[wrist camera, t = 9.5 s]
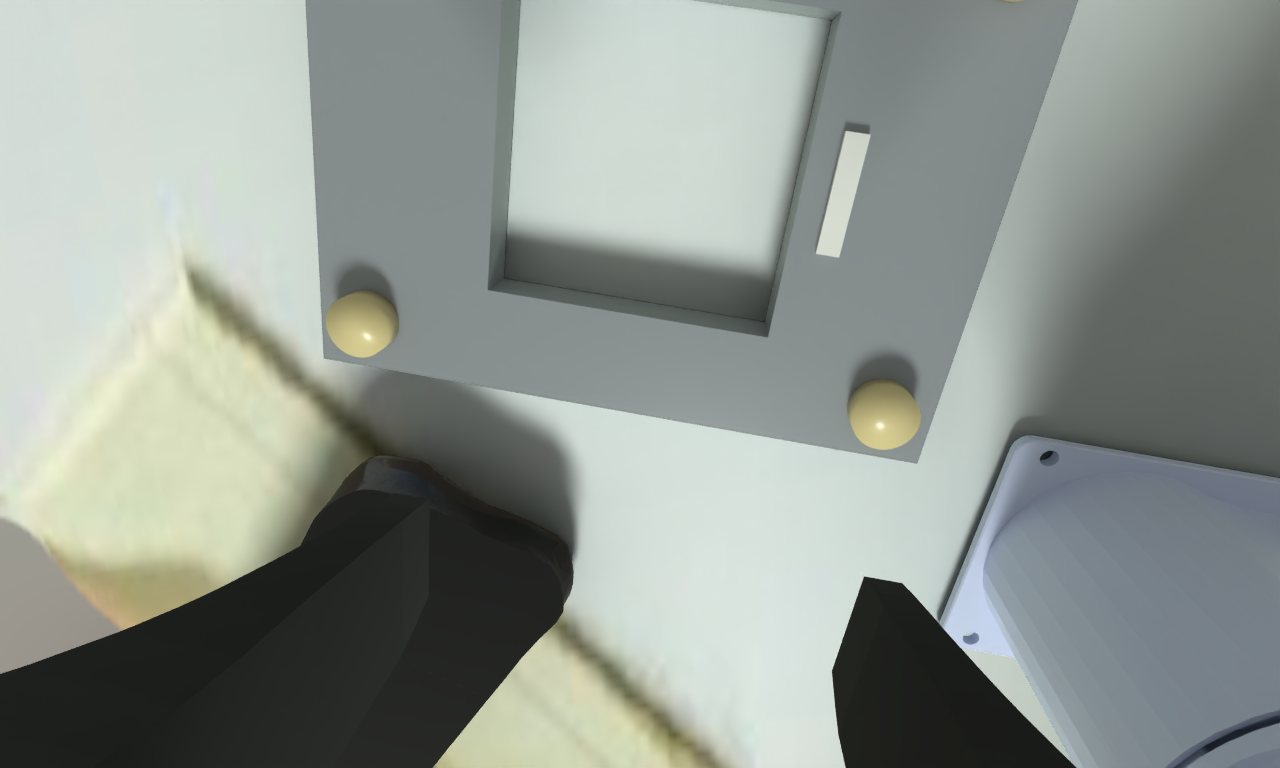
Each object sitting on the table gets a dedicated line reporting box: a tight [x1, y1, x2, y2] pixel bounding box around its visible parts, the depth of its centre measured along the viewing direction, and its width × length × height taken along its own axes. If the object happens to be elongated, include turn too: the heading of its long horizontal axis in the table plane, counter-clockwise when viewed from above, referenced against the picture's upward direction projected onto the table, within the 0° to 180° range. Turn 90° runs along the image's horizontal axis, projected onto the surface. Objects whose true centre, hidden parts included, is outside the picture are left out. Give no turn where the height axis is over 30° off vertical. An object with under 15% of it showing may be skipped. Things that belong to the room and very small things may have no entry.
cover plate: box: [306, 0, 1078, 464], centre depth 17 cm, size 18×14×2 cm
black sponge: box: [301, 456, 574, 768], centre depth 24 cm, size 16×8×4 cm, turn 146°
